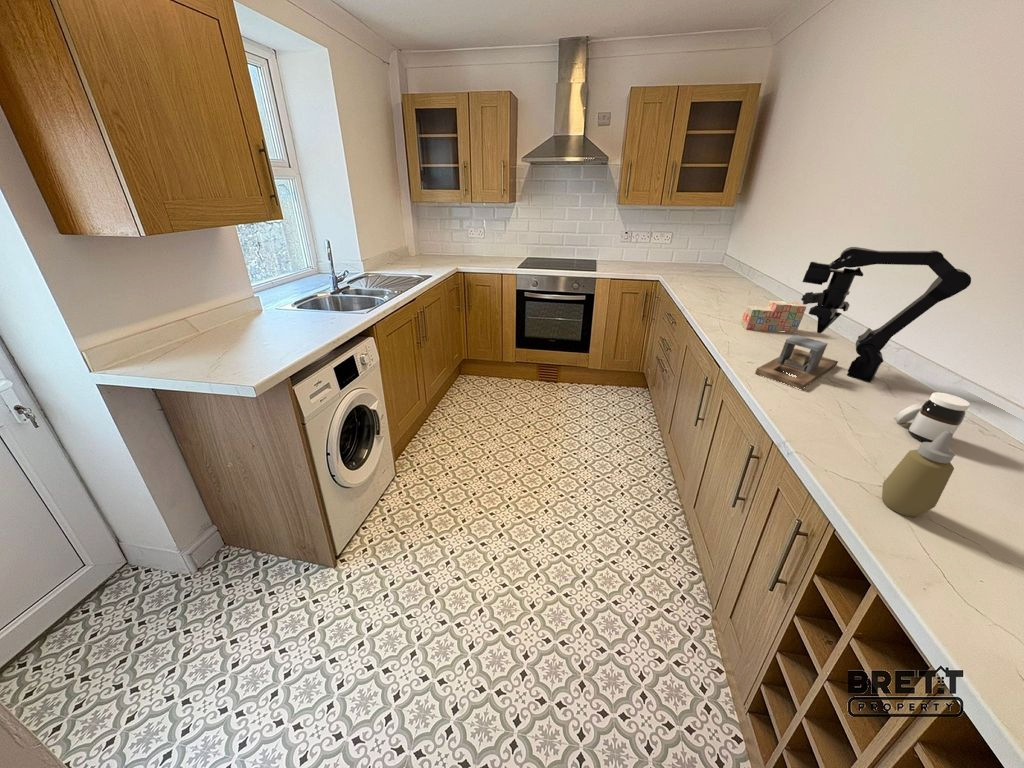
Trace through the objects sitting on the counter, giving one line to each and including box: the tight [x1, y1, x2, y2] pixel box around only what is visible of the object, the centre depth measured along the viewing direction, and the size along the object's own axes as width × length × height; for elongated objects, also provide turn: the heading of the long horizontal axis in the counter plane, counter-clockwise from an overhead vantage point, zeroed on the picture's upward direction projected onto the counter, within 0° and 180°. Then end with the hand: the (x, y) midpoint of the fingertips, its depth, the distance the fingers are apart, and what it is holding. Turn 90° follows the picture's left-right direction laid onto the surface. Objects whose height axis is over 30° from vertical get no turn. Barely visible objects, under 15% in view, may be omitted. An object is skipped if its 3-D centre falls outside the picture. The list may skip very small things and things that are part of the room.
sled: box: [784, 339, 822, 371], centre depth 140 cm, size 6×18×6 cm, turn 128°
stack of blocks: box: [740, 300, 807, 333], centre depth 175 cm, size 21×6×12 cm, turn 85°
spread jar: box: [893, 391, 971, 443], centre depth 104 cm, size 12×11×12 cm
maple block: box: [790, 352, 810, 365], centre depth 137 cm, size 4×4×4 cm
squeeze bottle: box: [881, 431, 956, 518], centre depth 77 cm, size 8×8×18 cm
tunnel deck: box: [754, 334, 839, 390], centre depth 137 cm, size 14×32×11 cm, turn 128°
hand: (819, 332), depth 139 cm, fingers closed
